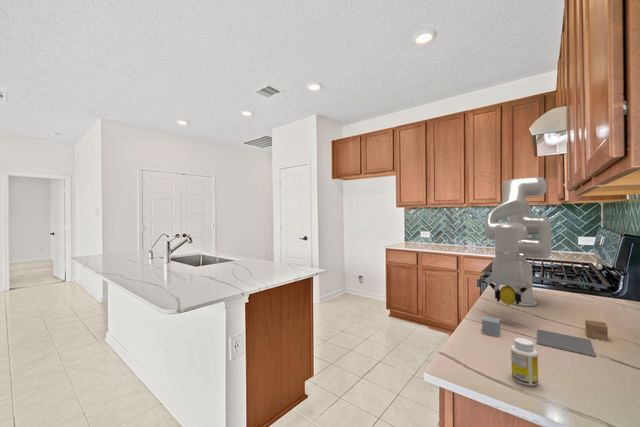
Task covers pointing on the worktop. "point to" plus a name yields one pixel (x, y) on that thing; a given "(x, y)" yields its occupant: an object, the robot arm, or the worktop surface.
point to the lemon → (507, 295)
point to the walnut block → (596, 330)
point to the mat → (565, 342)
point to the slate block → (491, 326)
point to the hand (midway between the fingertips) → (507, 301)
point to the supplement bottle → (524, 362)
